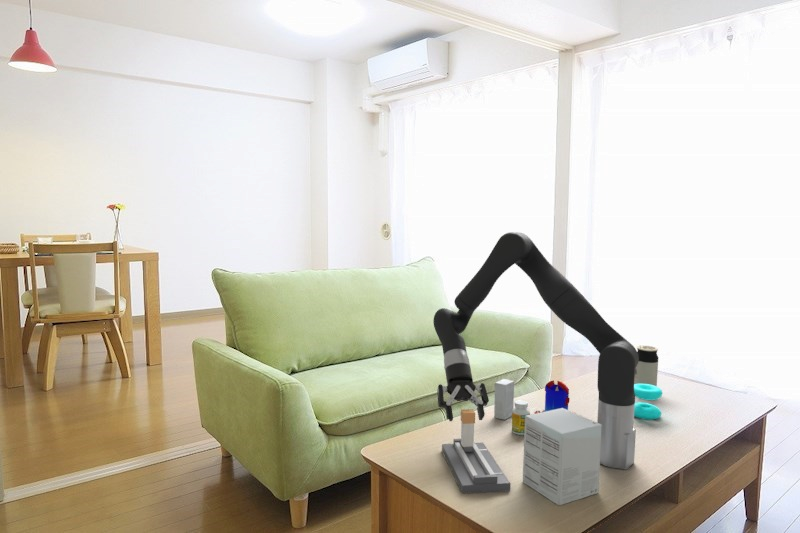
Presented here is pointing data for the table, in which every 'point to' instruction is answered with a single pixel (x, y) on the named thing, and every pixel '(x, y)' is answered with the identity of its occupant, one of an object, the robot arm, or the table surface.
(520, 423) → the supplement bottle
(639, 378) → the travel mug
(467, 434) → the fader
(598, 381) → the robot arm
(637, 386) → the donuts
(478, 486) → the grey rail track base
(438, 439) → the table surface
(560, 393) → the fantasy tower
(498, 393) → the skincare box
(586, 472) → the supplement box
